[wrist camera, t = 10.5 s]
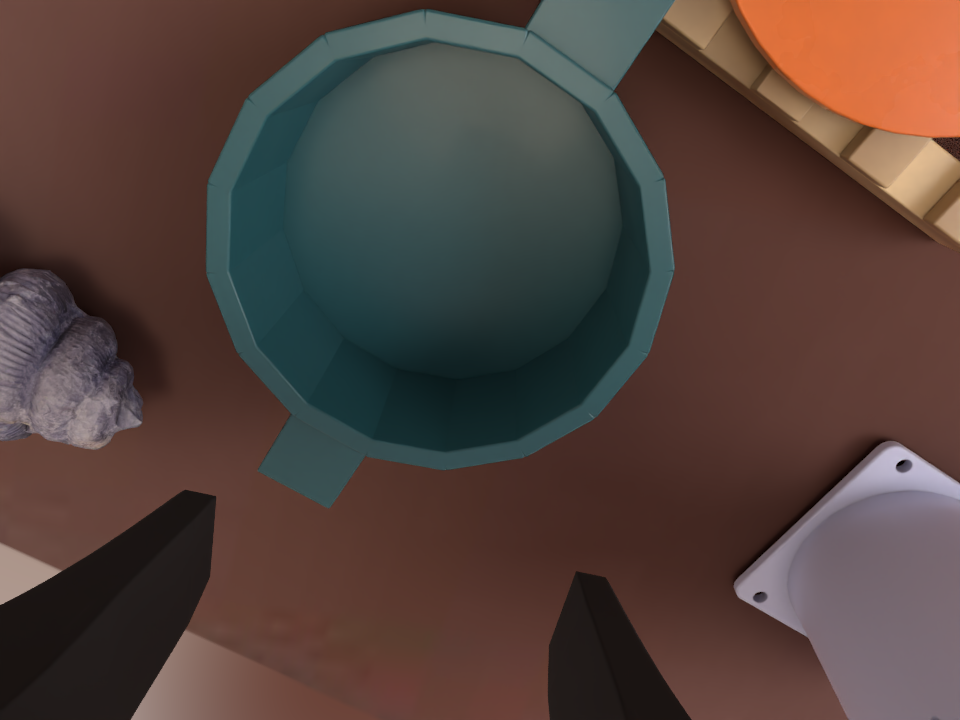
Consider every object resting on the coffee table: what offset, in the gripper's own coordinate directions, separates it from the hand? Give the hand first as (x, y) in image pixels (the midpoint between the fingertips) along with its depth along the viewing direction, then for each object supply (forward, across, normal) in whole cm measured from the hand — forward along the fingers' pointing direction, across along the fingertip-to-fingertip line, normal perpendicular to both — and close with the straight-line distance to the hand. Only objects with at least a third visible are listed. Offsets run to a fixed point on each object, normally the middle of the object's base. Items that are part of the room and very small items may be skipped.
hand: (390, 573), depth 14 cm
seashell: (+11, +13, +2) cm, 17 cm away
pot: (+10, 0, -4) cm, 11 cm away
